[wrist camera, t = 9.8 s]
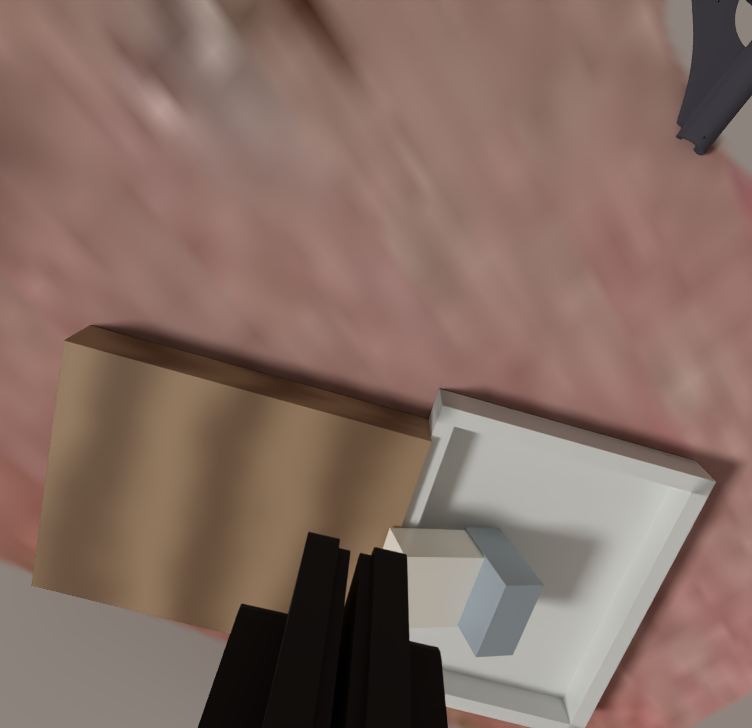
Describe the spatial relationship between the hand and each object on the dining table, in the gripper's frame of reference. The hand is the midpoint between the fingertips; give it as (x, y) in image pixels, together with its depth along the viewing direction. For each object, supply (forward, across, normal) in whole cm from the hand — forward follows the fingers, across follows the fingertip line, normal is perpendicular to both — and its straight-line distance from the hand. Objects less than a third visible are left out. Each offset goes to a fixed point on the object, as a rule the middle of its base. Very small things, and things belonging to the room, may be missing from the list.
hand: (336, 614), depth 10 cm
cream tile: (+23, -6, +15) cm, 28 cm away
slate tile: (+22, -9, +15) cm, 28 cm away
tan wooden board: (+25, +6, +14) cm, 29 cm away
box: (+25, -12, +15) cm, 32 cm away
